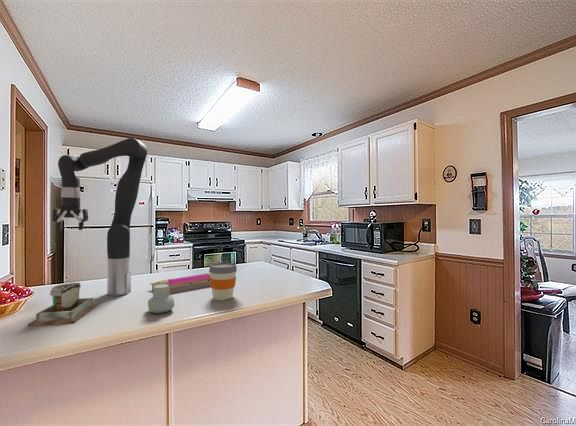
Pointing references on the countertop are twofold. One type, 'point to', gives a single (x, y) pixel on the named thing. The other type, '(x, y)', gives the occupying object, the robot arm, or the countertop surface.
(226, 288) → the reusable coffee cup
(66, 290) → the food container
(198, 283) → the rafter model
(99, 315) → the countertop surface
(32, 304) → the countertop surface
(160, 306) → the pale grey rounded vessel
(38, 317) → the holder
